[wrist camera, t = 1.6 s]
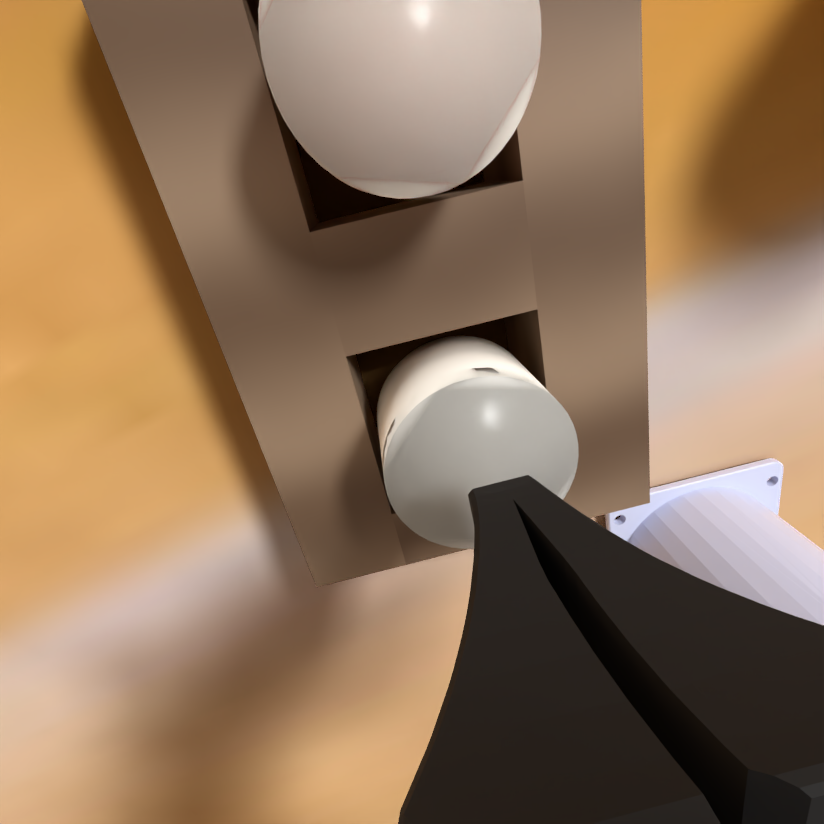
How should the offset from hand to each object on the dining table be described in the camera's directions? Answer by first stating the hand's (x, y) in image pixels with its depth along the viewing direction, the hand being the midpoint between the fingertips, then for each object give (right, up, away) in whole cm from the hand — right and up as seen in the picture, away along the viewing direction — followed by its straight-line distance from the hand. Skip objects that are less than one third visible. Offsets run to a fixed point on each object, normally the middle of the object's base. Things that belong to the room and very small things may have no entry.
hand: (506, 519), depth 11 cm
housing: (-2, +8, +6) cm, 10 cm away
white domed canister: (-1, +2, +5) cm, 6 cm away
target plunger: (-3, +10, +1) cm, 11 cm away
